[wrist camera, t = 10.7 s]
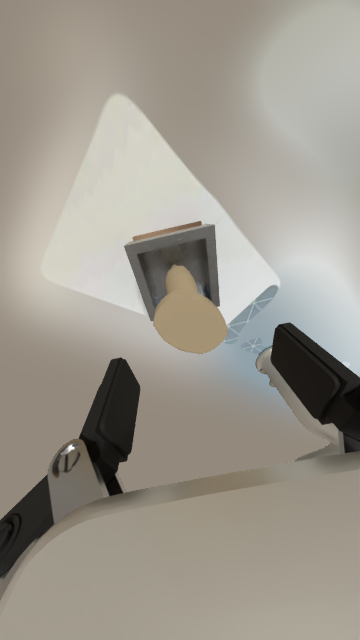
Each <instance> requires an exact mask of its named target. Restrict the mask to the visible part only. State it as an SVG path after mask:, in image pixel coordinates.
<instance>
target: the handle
mask: <svg viewBox="0 0 360 640" xmlns="http://www.w3.org/2000/svg"><path fill="white" fill-rule="evenodd" d="M166 291H167V295H166V296H165V297H164V298H163V299H162V300H161V301H160V303H159V304H158V306H157V308H156V310H155V314H154V327H155V328H156V330H157V331H158V333H159V334H160V336H161V337H162V338H163V339H164V341H166V342H167V343H169V344H171V345H172V346H174V347H175V348H177V349H179V350H182V351H185V352H190V353H198V354H203V353H206V352H208V351H211V350H213V349H214V348H216V347H217V346H218V345H219V344H220V343H222V341H223V340H224V339H225V337H226V335H227V333H228V329H227V326H226V323H225V320H224V318H223V316H222V314H221V312H220V311H219V309H218V308H217V307H216V306H215V305H214V304H213V303H212V302H211V301H210V300H209V299H208V298H206V297H205V296H203V295H201V294H199V291H198V288H197V285H196V282H195V280H194V278H193V276H192V275H191V273H190V272H189V271H188V270H187V269H186V267H185V266H183V265H182V266H177V265H175V264H174V265H172V268H171V269H170V270H168V272H167V276H166Z"/></svg>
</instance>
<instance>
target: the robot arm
mask: <svg viewBox="0 0 360 640" xmlns="http://www.w3.org/2000/svg"><path fill="white" fill-rule="evenodd" d="M256 367H257V369H258V371H260V372H261V373H264V374H267V375H268V376H269V378H270V386H272V387H276V388H277V390H278V391H279V393H280V394H281V395H282V397H283V398H284V400H285V401H286V403H287V404H288V406H289V407H290V409H291V410H292V411H293V413H294V414H295V416H296V417H297V419H298V420H299V422H300V423H301V424H302V425H303V426H304V427H305V428H306V429H308V430H309V431H310V432H312V433H314V434H316V435H318V436H320V437H322V438H324V439H327V440H328V441H330V445H328V446H326V447H324V448H323V449H320V450H317V451H314V452H312V453H309V454H306V455H304V456H302V457H299V458H297V459H296V460H295V461H294V462H290V463H285V464H278V465H272V466H268V467H262V468H256V469H250V470H244V471H239V472H234V473H228V474H222V475H217V476H211V477H205V478H200V479H194V480H189V481H184V482H178V483H173V484H168V485H162V486H157V487H151V488H146V489H141V490H136V491H131V492H126V490H125V488H124V486H123V484H122V481H121V479H120V477H119V475H118V473H117V470H118V465H119V462H125V461H127V458H128V454H130V453H131V450H132V443H133V436H134V429H135V422H136V415H137V408H138V402H139V395H140V385H139V383H138V381H137V380H136V378H135V376H134V374H133V372H132V370H131V369H130V367H129V365H128V363H127V361H126V360H125V359H122V358H117V359H112V360H111V361H110V364H109V366H108V369H107V371H106V374H105V376H104V379H103V381H102V384H101V385H100V387H99V389H98V391H97V394H96V397H95V399H94V401H93V404H92V407H91V410H90V412H89V414H88V417H87V419H86V422H85V424H84V426H83V429H82V432H81V434H80V437H79V439H73V440H71V441H69V442H67V443H66V444H65V445H63V446H62V447H61V448H60V449H59V450H58V452H57V453H56V454H55V456H54V457H53V459H52V461H51V463H50V466H49V468H48V474H47V475H46V476H45V477H44V478H43V479H42V480H41V481H40V482H39V483H38V484H37V485H36V486H35V487H34V488H33V489H32V490H31V491H30V492H29V493H28V494H27V495H26V496H25V497H24V498H23V499H22V500H21V501H20V502H19V503H18V504H16V505H15V506H14V507H13V508H12V509H11V510H10V511H9V512H8V513H7V514H6V515H5V516H4V517H3V518H2V519H1V520H0V640H360V378H359V377H358V376H357V375H356V374H354V373H353V372H352V371H351V370H349V369H348V368H347V367H346V366H344V365H343V364H342V363H341V362H339V361H338V360H337V359H336V358H334V357H333V356H332V355H331V354H329V353H328V352H327V351H325V350H324V349H323V348H321V347H320V346H319V345H318V344H317V343H315V342H314V341H313V340H312V339H310V338H309V337H308V336H307V335H305V334H304V333H303V332H301V331H300V330H299V329H298V328H296V327H295V326H294V325H293V324H291V323H284V324H280V325H278V326H277V328H275V333H274V339H273V345H272V346H271V347H269V348H267V349H266V350H264V351H263V352H262V353H261V354H260V355H259V356H258V358H257V360H256Z"/></svg>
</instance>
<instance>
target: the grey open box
mask: <svg viewBox="0 0 360 640" xmlns="http://www.w3.org/2000/svg"><path fill="white" fill-rule="evenodd" d="M124 248H125V250H126V253H127V256H128V259H129V261H130V264H131V267H132V270H133V273H134V275H135V278H136V281H137V284H138V286H139V289H140V292H141V295H142V297H143V300H144V303H145V306H146V309H147V311H148V314H149V317H150V320H151V321H154V314H155V310H156V308H157V306H158V304H159V303H160V301H161V300H162V299H163V298H164V297H165V296H166V295H167V291H166V276H167V272H168V270H170V269H171V268H172V265H174V264H175V265H177V266H182V265H183V266H185V267H186V269H187V270H188V271H189V272H190V273H191V275H192V276H193V278H194V280H195V282H196V285H197V288H198V291H199V294H201V295H203V296H205V297H206V298H208V299H209V300H210V301H211V302H212V303H213V304H214V305H215V306H216V307H218V306H220V301H219V285H218V270H217V254H216V239H215V225H210V224H205V225H200V226H196V227H192V228H187V229H183V230H179V231H175V232H170V233H166V234H162V235H158V236H153V237H149V238H145V239H140V240H136V241H132V242H129V243H128V244H126V245H125V246H124Z"/></svg>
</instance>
